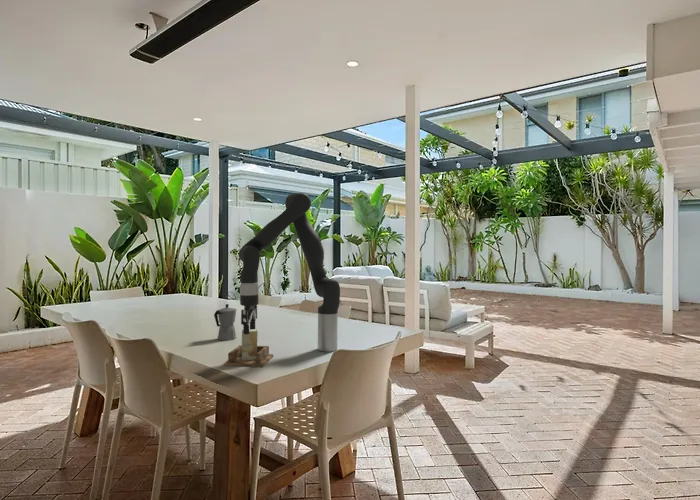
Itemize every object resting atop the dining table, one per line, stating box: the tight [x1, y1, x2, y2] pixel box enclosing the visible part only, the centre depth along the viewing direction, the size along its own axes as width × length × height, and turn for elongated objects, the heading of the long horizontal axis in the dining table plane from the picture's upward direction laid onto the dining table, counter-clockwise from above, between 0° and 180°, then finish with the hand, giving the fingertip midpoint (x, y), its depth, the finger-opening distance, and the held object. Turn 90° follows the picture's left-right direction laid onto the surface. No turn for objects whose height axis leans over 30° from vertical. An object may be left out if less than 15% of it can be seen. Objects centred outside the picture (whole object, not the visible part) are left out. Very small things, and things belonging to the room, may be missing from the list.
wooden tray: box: [224, 344, 274, 368], centre depth 184 cm, size 16×16×5 cm
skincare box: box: [241, 328, 259, 361], centre depth 183 cm, size 6×4×12 cm
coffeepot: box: [213, 304, 237, 342], centre depth 225 cm, size 15×9×18 cm, turn 153°
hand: (249, 332), depth 183 cm, fingers open, 8 cm apart
